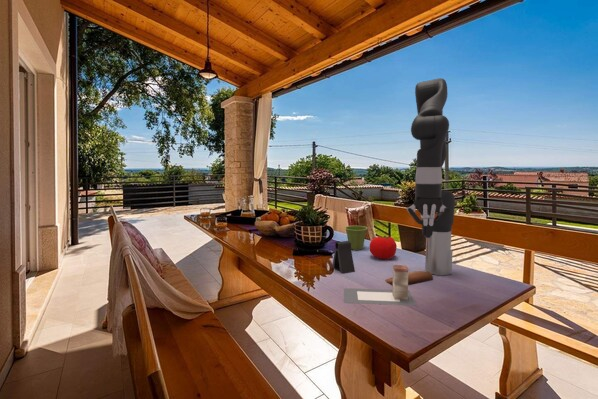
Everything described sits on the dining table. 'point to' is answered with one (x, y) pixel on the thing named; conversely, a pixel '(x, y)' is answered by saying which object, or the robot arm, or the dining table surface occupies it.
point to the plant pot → (356, 236)
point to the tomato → (383, 247)
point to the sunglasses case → (415, 277)
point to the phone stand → (343, 257)
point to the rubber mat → (375, 297)
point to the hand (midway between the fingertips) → (426, 237)
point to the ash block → (400, 282)
